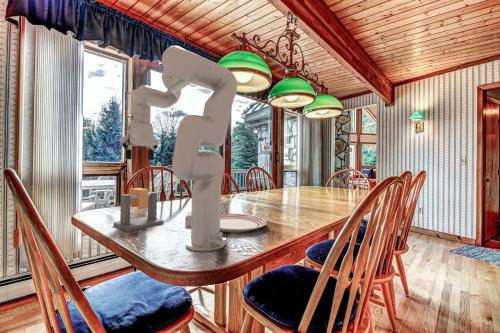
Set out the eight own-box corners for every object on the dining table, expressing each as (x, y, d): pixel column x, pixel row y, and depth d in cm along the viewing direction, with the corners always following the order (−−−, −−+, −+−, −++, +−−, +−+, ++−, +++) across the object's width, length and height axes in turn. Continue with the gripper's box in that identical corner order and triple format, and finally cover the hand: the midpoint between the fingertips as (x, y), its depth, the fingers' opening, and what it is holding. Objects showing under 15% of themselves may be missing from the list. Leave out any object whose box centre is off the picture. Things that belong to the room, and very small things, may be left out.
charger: (207, 218, 124) (207, 226, 109) (188, 218, 122) (185, 226, 107) (207, 209, 124) (207, 215, 109) (188, 209, 122) (185, 215, 107)
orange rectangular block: (148, 207, 107) (148, 189, 107) (139, 209, 104) (139, 190, 104) (139, 205, 112) (139, 187, 111) (130, 206, 108) (130, 188, 108)
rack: (163, 223, 111) (164, 193, 110) (127, 231, 98) (127, 196, 98) (148, 219, 118) (149, 190, 118) (113, 225, 105) (113, 193, 105)
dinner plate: (267, 221, 121) (267, 214, 121) (265, 238, 94) (265, 229, 94) (211, 218, 124) (211, 211, 124) (193, 234, 97) (194, 225, 97)
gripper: (124, 115, 98) (123, 159, 98) (163, 121, 112) (163, 160, 112) (115, 117, 103) (115, 159, 103) (154, 123, 116) (153, 159, 117)
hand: (140, 159), depth 107 cm, fingers open, 9 cm apart
